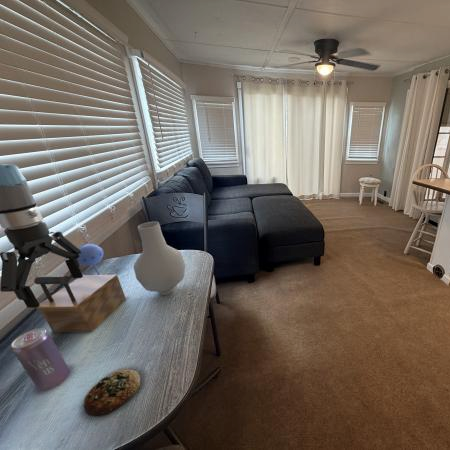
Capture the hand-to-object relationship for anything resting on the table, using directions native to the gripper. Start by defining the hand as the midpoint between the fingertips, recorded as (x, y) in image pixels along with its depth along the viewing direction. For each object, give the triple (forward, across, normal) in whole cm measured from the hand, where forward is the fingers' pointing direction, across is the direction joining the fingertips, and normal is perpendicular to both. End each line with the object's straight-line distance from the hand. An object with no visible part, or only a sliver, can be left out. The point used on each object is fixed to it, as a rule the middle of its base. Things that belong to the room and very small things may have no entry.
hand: (58, 290), depth 71 cm
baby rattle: (+16, +25, +13) cm, 32 cm away
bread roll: (+16, -20, -27) cm, 37 cm away
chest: (+16, +6, 0) cm, 17 cm away
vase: (+16, +20, -18) cm, 32 cm away
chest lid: (+5, +6, 0) cm, 7 cm away
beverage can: (+16, -17, -9) cm, 25 cm away
